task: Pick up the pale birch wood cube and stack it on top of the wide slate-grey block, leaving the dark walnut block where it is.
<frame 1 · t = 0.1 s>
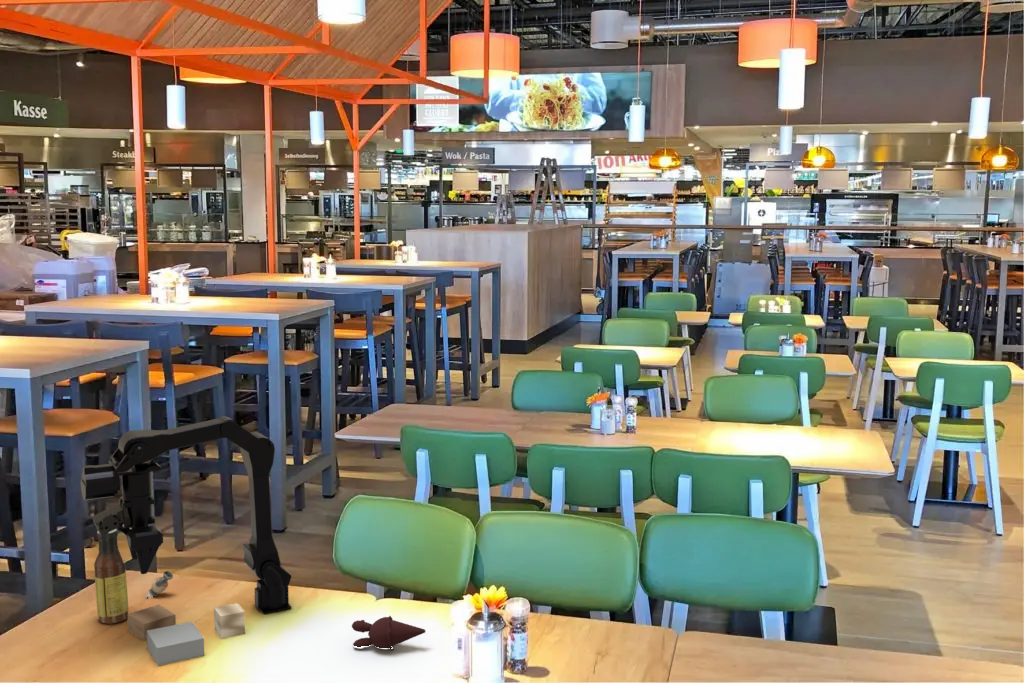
hand: (139, 566, 207), 15 cm above the table, tool pointing down, fingers open, 9 cm apart
walnut block: (151, 632, 210), on the table
icecream: (388, 649, 205), on the table
sauce bottle: (112, 620, 215), on the table
vase: (161, 596, 228), on the table
slate block: (175, 653, 201), on the table
birch cube: (229, 632, 211), on the table
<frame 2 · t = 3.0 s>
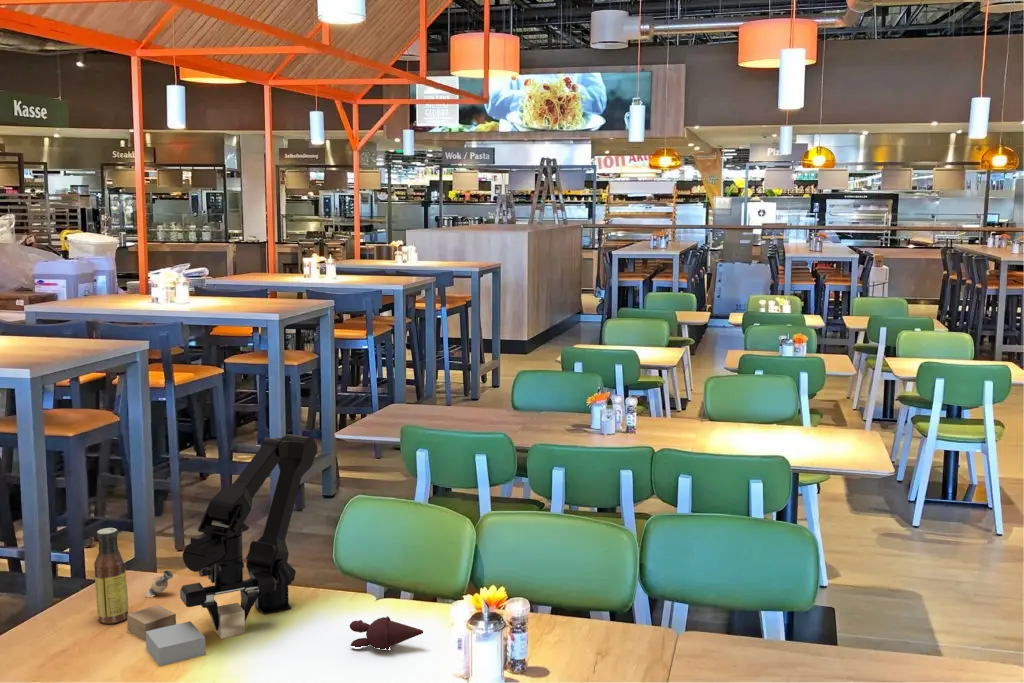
hand: (229, 627, 211), 1 cm above the table, tool pointing down, fingers closed on birch cube, 5 cm apart
birch cube: (229, 631, 211), on the table, touching gripper
when the fingers open (6 cm above the table, at t = 7.6 s): birch cube drops 1 cm, resting on slate block.
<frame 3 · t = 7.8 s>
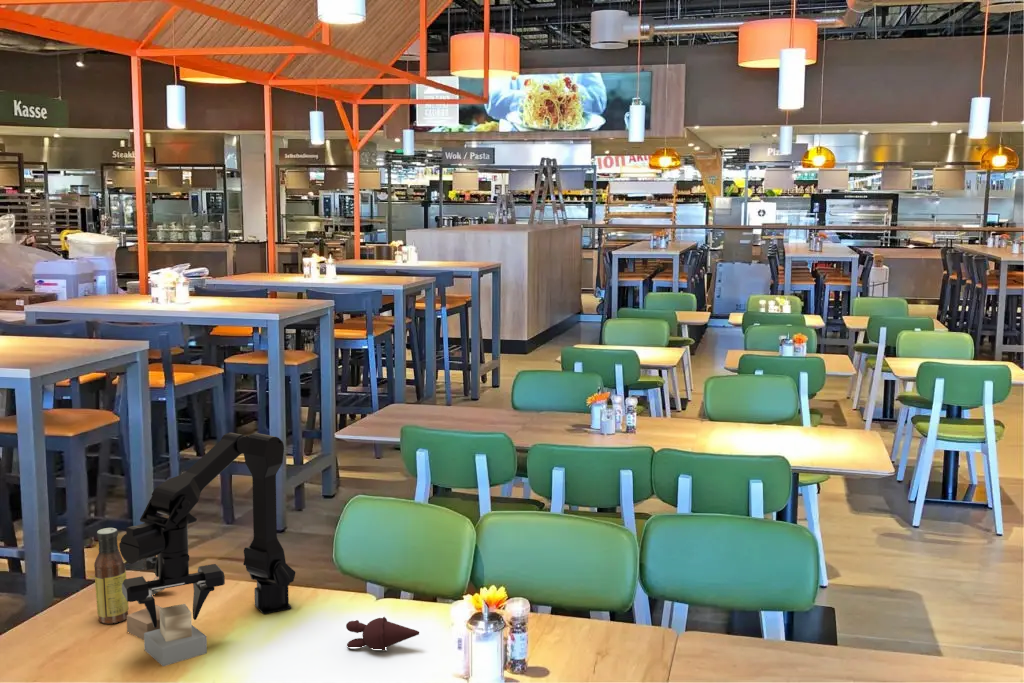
hand: (175, 623, 200), 6 cm above the table, tool pointing down, fingers open, 7 cm apart
slate block: (175, 653, 201), on the table, touching birch cube
birch cube: (175, 634, 201), point 4 cm above the table, touching slate block
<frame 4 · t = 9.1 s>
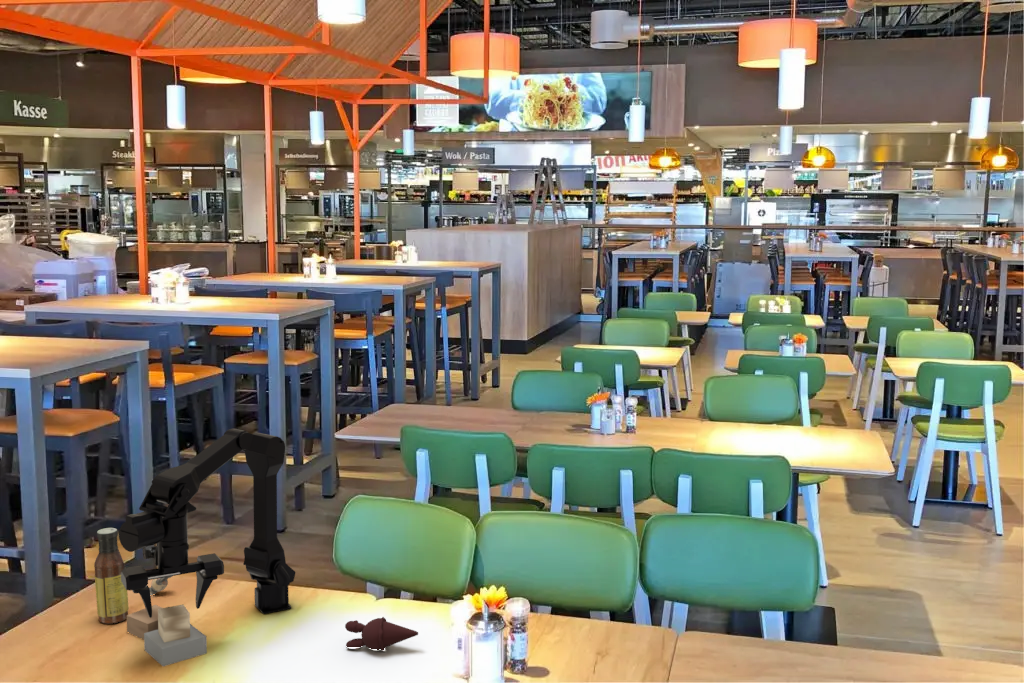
hand: (174, 612, 200), 8 cm above the table, tool pointing down, fingers open, 9 cm apart
slate block: (175, 653, 201), on the table
birch cube: (174, 634, 200), point 4 cm above the table
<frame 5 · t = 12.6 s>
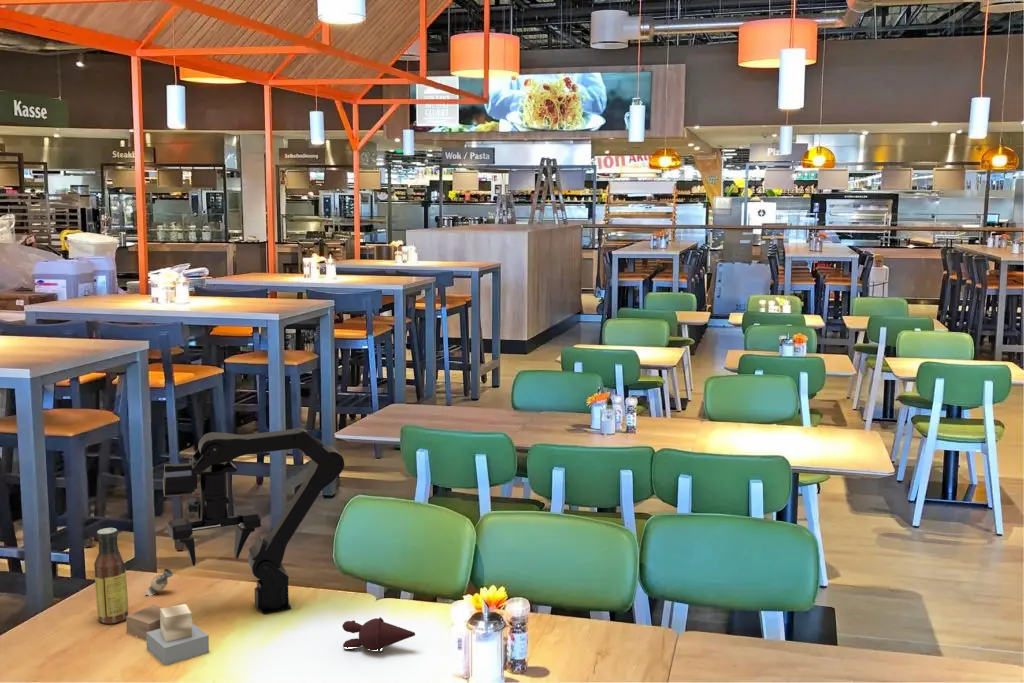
hand: (215, 561, 217), 12 cm above the table, tool pointing down, fingers open, 9 cm apart
slate block: (177, 652, 201), on the table, touching birch cube
birch cube: (176, 634, 200), point 4 cm above the table, touching slate block
at the end: birch cube inside the target area on the slate block (0.4 cm from its centre), point 4.0 cm above the slate block's base; birch cube tilted 0°; walnut block moved 0.3 cm from its start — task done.
